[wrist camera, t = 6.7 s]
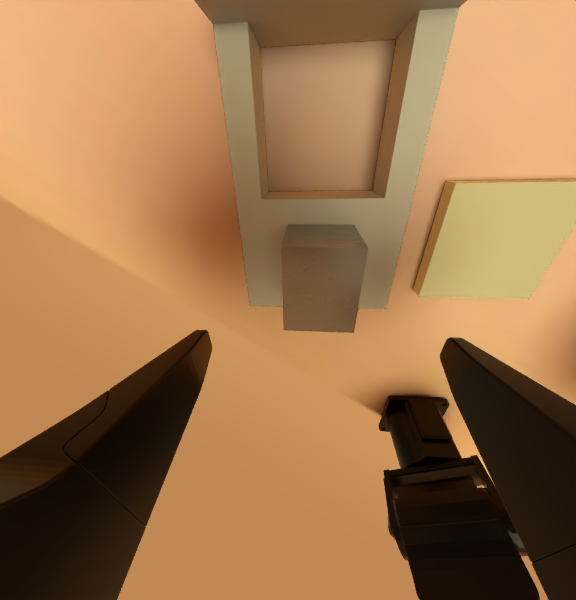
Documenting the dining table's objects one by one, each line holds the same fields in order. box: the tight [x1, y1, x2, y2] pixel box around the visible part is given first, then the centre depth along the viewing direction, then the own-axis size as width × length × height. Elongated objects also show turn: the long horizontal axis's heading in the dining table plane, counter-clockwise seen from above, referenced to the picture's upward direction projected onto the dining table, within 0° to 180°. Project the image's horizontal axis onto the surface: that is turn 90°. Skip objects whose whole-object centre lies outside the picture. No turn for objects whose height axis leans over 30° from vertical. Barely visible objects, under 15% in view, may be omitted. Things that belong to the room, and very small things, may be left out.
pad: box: [413, 179, 576, 299], centre depth 16 cm, size 8×8×1 cm
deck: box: [195, 0, 467, 309], centre depth 14 cm, size 16×10×5 cm, turn 1°
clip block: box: [281, 224, 368, 333], centre depth 14 cm, size 5×4×4 cm
